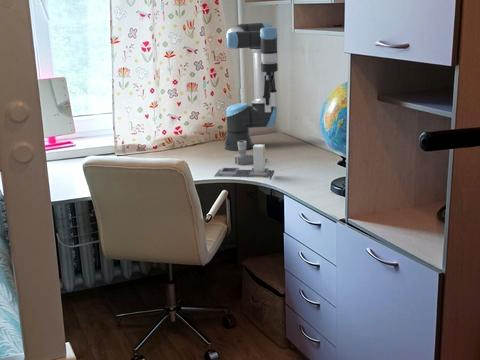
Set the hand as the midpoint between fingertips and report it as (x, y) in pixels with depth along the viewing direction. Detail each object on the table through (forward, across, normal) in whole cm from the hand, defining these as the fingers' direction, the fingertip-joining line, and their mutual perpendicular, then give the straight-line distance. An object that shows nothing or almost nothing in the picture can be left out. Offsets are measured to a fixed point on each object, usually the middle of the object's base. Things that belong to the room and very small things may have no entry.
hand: (270, 109), depth 294 cm
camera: (+28, -7, -12) cm, 32 cm away
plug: (+27, +13, -4) cm, 30 cm away
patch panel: (+28, +13, -10) cm, 33 cm away
